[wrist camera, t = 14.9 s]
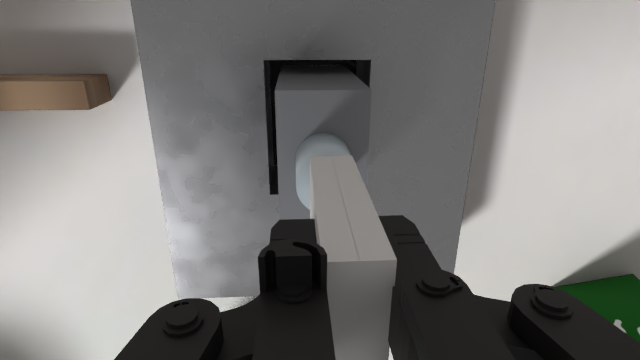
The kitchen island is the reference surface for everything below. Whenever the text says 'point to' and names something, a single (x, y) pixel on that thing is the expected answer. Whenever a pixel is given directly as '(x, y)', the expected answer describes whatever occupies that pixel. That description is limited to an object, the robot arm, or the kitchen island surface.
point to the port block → (256, 117)
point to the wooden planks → (53, 92)
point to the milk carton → (612, 300)
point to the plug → (317, 127)
